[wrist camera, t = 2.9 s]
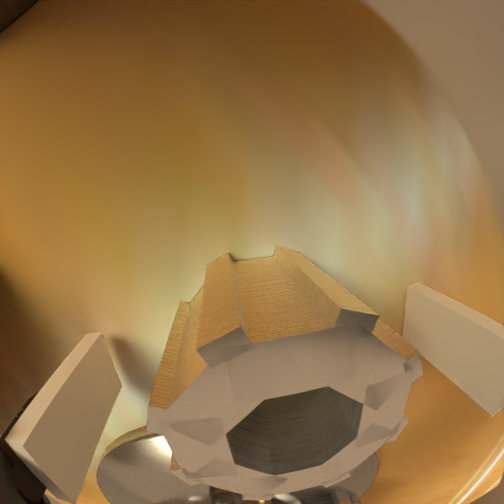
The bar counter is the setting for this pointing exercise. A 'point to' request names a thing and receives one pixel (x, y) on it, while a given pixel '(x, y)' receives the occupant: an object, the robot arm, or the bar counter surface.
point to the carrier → (200, 495)
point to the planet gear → (278, 379)
